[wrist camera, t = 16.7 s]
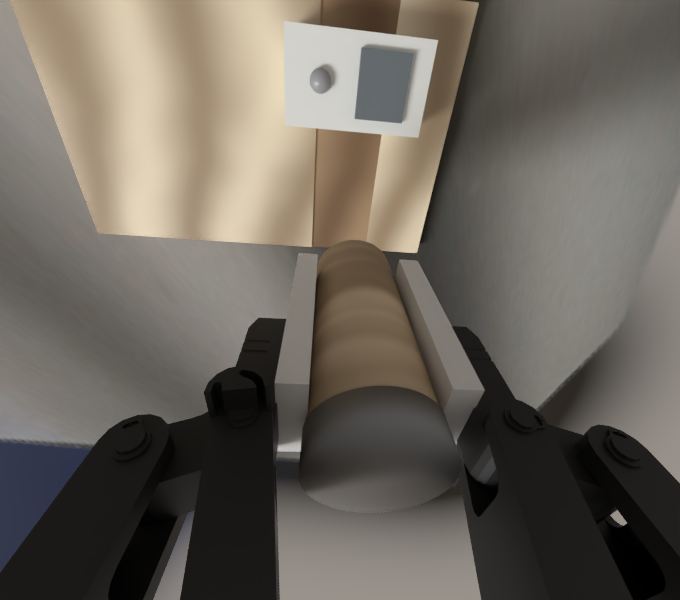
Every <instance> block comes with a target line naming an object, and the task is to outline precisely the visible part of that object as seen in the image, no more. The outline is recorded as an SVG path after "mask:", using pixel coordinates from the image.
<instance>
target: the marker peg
mask: <svg viewBox="0 0 680 600" xmlns="http://www.w3.org/2000/svg"><path fill="white" fill-rule="evenodd" d="M299 466H300V467H299V482H300V484H301V486H302V488H303V490H304V491H305V492H306V493H307V494H308V495H309V496H310V497H311V498H313V499H314V500H316V501H317V502H319V503H321V504H324V505H326V506H329V507H332V508H335V509H340V510H344V511H351V512H360V513H378V512H389V511H396V510H401V509H406V508H409V507H413V506H416V505H419V504H422V503H425V502H427V501H429V500H431V499H433V498H435V497H437V496H439V495H440V494H442V493H443V492H445V491H446V490H447V489H448V488H450V487H451V486H452V485H453V484H454V483H455V481H456V480H457V478H458V477H459V474H460V472H461V468H462V462H461V458H460V455H459V452H458V450H457V447H456V444H455V441H454V439H453V436H452V433H451V430H450V428H449V425H448V422H447V419H446V417H445V414H444V412H443V410H442V409H441V407H440V406H439V404H438V401H437V398H436V395H435V392H434V389H433V387H432V384H431V381H430V378H429V375H428V373H427V370H426V367H425V364H424V361H423V359H422V356H421V353H420V350H419V347H418V345H417V342H416V339H415V336H414V333H413V331H412V328H411V325H410V322H409V319H408V317H407V314H406V311H405V308H404V305H403V302H402V300H401V297H400V294H399V291H398V288H397V286H396V283H395V280H394V277H393V274H392V272H391V269H390V266H389V263H388V260H387V258H386V256H385V255H384V253H383V252H382V251H381V250H380V249H379V248H378V247H376V246H375V245H373V244H371V243H369V242H366V241H362V240H346V241H342V242H339V243H337V244H335V245H333V246H331V247H330V248H329V249H327V250H326V251H325V252H324V253H323V255H322V256H321V258H320V259H319V261H318V264H317V278H316V294H315V309H314V324H313V340H312V355H311V370H310V386H309V401H308V413H307V416H306V419H305V422H304V425H303V429H302V440H301V452H300V465H299Z"/></svg>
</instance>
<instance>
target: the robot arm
mask: <svg viewBox="0 0 680 600" xmlns="http://www.w3.org/2000/svg"><path fill="white" fill-rule="evenodd" d="M317 259H318V254H306V253H299V254H298V259H297V264H296V270H295V275H294V281H293V286H292V291H291V297H290V302H289V307H288V313H287V318H286V319H273V318H258V319H257V320H256V321H255V322H254V323H253V324H252V325H251V326H250V327H249V329H248V332H247V335H246V338H245V342H244V343H243V346H242V349H241V352H240V355H239V358H238V361H237V364H236V367H232V368H228V369H226V370H224V371H222V372H220V373H218V374H217V375H216V376H215V377H214V378H213V379H211V380H210V381H209V382H208V385H207V387H206V389H205V391H204V395H205V399H206V403H207V407H208V412H207V413H205V414H203V415H200V416H197V417H194V418H191V419H187V420H183V421H179V422H175V423H171V424H167V423H166V422H165V421H164V420H163V419H162V418H161V417H158V416H155V415H151V414H148V415H137V416H134V417H131V418H128V419H125V420H123V421H121V422H120V423H118V424H116V425H115V426H113V427H112V428H110V429H109V430H108V431H107V432H106V433H105V434H104V435H103V436H102V437H101V438H100V439H99V440H98V441H97V443H96V444H95V445H94V447H93V448H92V450H91V451H90V452H89V454H88V455H87V456H86V458H85V459H84V461H83V462H82V463H81V464H80V466H79V467H78V468H77V470H76V471H75V472H74V474H73V475H72V477H71V478H70V479H69V481H68V482H67V483H66V485H65V486H64V487H63V489H62V490H61V491H60V493H59V494H58V496H57V497H56V498H55V500H54V501H53V502H52V504H51V505H50V506H49V508H48V509H47V510H46V512H45V513H44V514H43V516H42V517H41V519H40V520H39V521H38V522H37V524H36V525H35V526H34V528H33V529H32V531H31V532H30V533H29V535H28V536H27V537H26V539H25V540H24V541H23V543H22V544H21V545H20V547H19V548H18V550H17V551H16V552H15V554H14V555H13V556H12V558H11V559H10V560H9V562H8V563H7V564H6V566H5V567H4V568H3V570H2V571H1V572H0V600H153V598H154V596H155V593H156V590H157V588H158V585H159V583H160V580H161V578H162V576H163V573H164V571H165V568H166V566H167V563H168V561H169V558H170V556H171V553H172V550H173V548H174V546H175V543H176V541H177V538H178V535H179V533H180V531H181V528H182V525H183V523H184V520H185V518H186V516H187V513H188V512H191V511H194V510H195V513H194V518H193V524H192V530H191V537H190V543H189V549H188V555H187V561H186V567H185V573H184V579H183V585H182V592H181V597H180V600H279V599H280V597H279V561H278V528H277V527H278V526H277V491H276V465H275V464H276V463H275V461H276V454H277V447H278V451H292V452H301V440H302V429H303V425H304V422H305V419H306V416H307V413H308V401H309V386H310V370H311V355H312V340H313V324H314V309H315V294H316V278H317ZM395 283H396V286H397V288H398V291H399V294H400V297H401V300H402V302H403V305H404V308H405V311H406V314H407V317H408V319H409V322H410V325H411V328H412V331H413V333H414V336H415V339H416V342H417V345H418V347H419V350H420V353H421V356H422V359H423V361H424V364H425V367H426V370H427V373H428V375H429V378H430V381H431V384H432V387H433V389H434V392H435V395H436V398H437V401H438V404H439V406H440V407H441V409H442V410H443V412H444V414H445V417H446V419H447V422H448V425H449V428H450V430H451V433H452V436H453V439H454V441H455V444H457V443H458V446H459V448H460V451H461V454H462V456H463V458H462V459H461V462H462V468H461V472H460V474H459V477H458V478H457V480H456V481H455V483H454V484H453V485H452V486H451V487H455V485H456V484H457V482H458V480H459V479H460V484H461V486H460V488H461V489H462V495H463V500H464V506H465V511H466V516H467V522H468V528H469V533H470V539H471V544H472V550H473V555H474V561H475V566H476V572H477V578H478V583H479V589H480V594H481V600H680V483H679V482H678V481H677V480H676V479H675V478H674V477H673V476H672V475H671V474H670V473H669V472H668V471H667V470H666V469H665V468H664V467H663V465H661V463H660V462H659V461H658V460H657V459H656V458H655V457H654V456H653V455H652V454H651V453H650V452H649V451H648V450H647V449H646V448H645V447H644V446H643V445H642V444H640V443H639V442H638V441H637V440H636V439H634V438H633V437H631V436H629V435H627V434H626V433H624V432H623V431H621V430H618V429H615V428H613V427H610V426H604V425H596V426H593V427H591V428H590V429H589V430H588V431H587V432H586V433H585V434H584V435H581V434H578V433H574V432H571V431H568V430H564V429H561V428H558V427H554V426H552V425H549V424H548V423H547V422H546V420H545V419H544V418H543V416H542V415H541V414H539V413H538V412H537V411H536V410H535V409H534V408H533V407H531V406H529V405H527V404H526V403H524V402H522V401H519V400H516V399H515V397H514V396H513V394H512V392H511V391H510V389H509V387H508V386H507V384H506V382H505V381H504V379H503V378H502V376H501V374H500V373H499V371H498V369H497V368H496V366H495V364H494V363H493V362H492V361H491V358H490V356H489V354H488V353H487V352H486V351H485V348H484V346H483V344H482V343H481V341H480V340H479V338H478V337H477V336H476V335H475V334H474V333H473V332H471V331H470V330H469V329H468V328H467V327H456V326H451V324H450V322H449V320H448V318H447V317H446V315H445V313H444V311H443V309H442V307H441V305H440V303H439V301H438V299H437V297H436V295H435V293H434V292H433V290H432V288H431V286H430V284H429V282H428V280H427V278H426V276H425V274H424V272H423V270H422V269H421V267H420V265H419V263H418V261H414V260H399V263H398V268H397V272H396V277H395ZM616 510H618V511H619V512H620V514H621V515H622V516H623V518H624V519H625V520H626V522H627V524H626V525H624V526H622V525H620V524H619V523H617V522H616V521H615V520H614V519H613V518H612V517H611V516H610V515H611V514H612V513H613V512H615V511H616Z"/></svg>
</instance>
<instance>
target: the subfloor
mask: <svg viewBox="0 0 680 600" xmlns="http://www.w3.org/2000/svg"><path fill="white" fill-rule="evenodd" d="M10 1H11V4H12V7H13V9H14V12H15V14H16V17H17V20H18V22H19V25H20V28H21V30H22V33H23V36H24V38H25V41H26V44H27V46H28V49H29V52H30V54H31V57H32V60H33V62H34V65H35V68H36V70H37V73H38V76H39V78H40V81H41V84H42V86H43V89H44V91H45V94H46V97H47V99H48V102H49V105H50V107H51V110H52V113H53V115H54V118H55V121H56V123H57V126H58V129H59V131H60V134H61V137H62V139H63V142H64V145H65V147H66V150H67V153H68V155H69V158H70V160H71V163H72V166H73V168H74V171H75V174H76V176H77V179H78V182H79V184H80V187H81V190H82V192H83V195H84V198H85V200H86V203H87V206H88V208H89V211H90V214H91V216H92V219H93V222H94V224H95V227H96V230H97V232H98V233H103V234H119V235H134V236H150V237H165V238H181V239H196V240H212V241H227V242H243V243H258V244H274V245H289V246H305V247H312V246H316V247H331V246H333V245H335V244H337V243H339V242H342V241H346V240H362V241H366V242H369V243H371V244H373V245H375V246H376V247H378V248H379V249H380V250H381V251H393V252H408V253H417V250H418V246H419V242H420V238H421V234H422V230H423V226H424V222H425V218H426V214H427V210H428V206H429V202H430V198H431V194H432V190H433V186H434V182H435V178H436V174H437V170H438V166H439V162H440V158H441V154H442V150H443V146H444V142H445V138H446V134H447V130H448V126H449V122H450V118H451V114H452V110H453V106H454V102H455V98H456V94H457V90H458V86H459V82H460V78H461V74H462V70H463V66H464V62H465V58H466V54H467V50H468V45H469V41H470V37H471V33H472V29H473V25H474V21H475V17H476V13H477V9H478V5H479V3H477V2H470V1H462V0H10ZM284 21H289V22H297V23H305V24H313V25H321V26H329V27H337V28H345V29H353V30H361V31H369V32H377V33H385V34H393V35H401V36H409V37H417V38H426V39H434V40H438V44H437V49H436V54H435V59H434V63H433V68H432V73H431V78H430V83H429V88H428V93H427V98H426V103H425V107H424V112H423V117H422V122H421V127H420V132H419V137H418V138H415V137H404V136H393V135H382V134H371V133H360V132H350V131H339V130H328V129H317V128H306V127H295V126H285V89H284Z"/></svg>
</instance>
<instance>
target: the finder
mask: <svg viewBox="0 0 680 600" xmlns="http://www.w3.org/2000/svg"><path fill="white" fill-rule="evenodd" d="M437 44H438V40H434V39H426V38H417V37H409V36H401V35H393V34H385V33H377V32H369V31H361V30H353V29H345V28H337V27H329V26H321V25H313V24H305V23H297V22H289V21H284V89H285V126H295V127H306V128H317V129H328V130H339V131H350V132H360V133H371V134H382V135H393V136H404V137H415V138H418V137H419V132H420V127H421V122H422V117H423V112H424V107H425V103H426V98H427V93H428V88H429V83H430V78H431V73H432V68H433V63H434V59H435V54H436V49H437Z"/></svg>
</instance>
